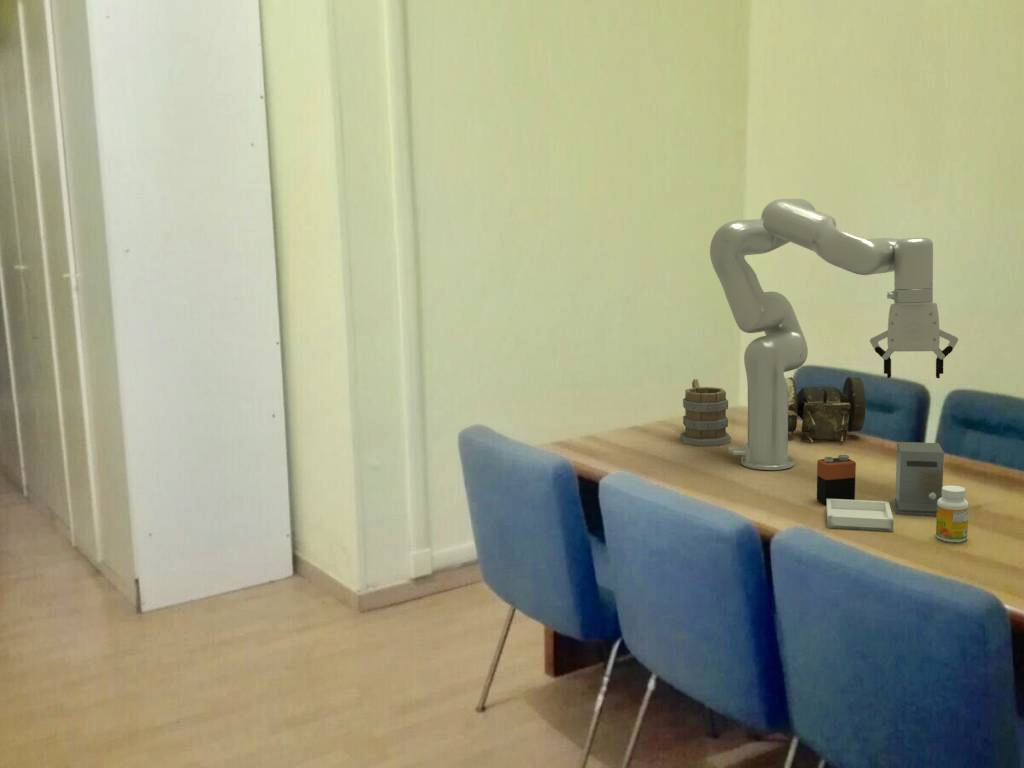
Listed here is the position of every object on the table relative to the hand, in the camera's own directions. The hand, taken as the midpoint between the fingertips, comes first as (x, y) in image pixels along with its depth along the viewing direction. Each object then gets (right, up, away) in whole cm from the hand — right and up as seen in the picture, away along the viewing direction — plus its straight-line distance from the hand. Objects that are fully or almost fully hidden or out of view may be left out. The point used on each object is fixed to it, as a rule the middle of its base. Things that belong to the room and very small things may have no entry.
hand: (913, 377), depth 209 cm
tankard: (-33, -16, +60) cm, 71 cm away
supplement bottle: (-3, -31, -25) cm, 40 cm away
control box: (-2, -27, -7) cm, 28 cm away
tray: (-16, -29, -13) cm, 36 cm away
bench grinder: (-2, -16, +55) cm, 58 cm away
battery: (-17, -27, -1) cm, 32 cm away
